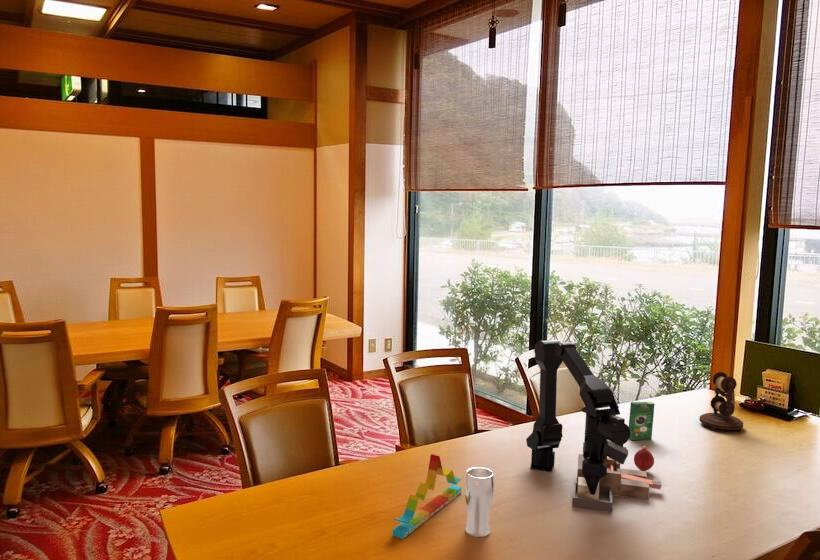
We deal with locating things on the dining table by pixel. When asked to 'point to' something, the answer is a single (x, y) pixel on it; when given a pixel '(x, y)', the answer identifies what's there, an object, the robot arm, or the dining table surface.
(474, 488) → the beer glass
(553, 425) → the robot arm
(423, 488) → the chart
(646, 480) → the lever
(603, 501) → the tray
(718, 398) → the brown roll holder stand
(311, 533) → the dining table surface
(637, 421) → the coffee box
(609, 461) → the brown wooden lever base
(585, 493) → the block
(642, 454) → the onion
